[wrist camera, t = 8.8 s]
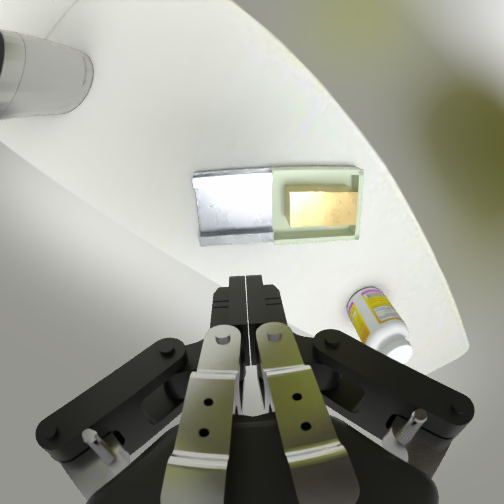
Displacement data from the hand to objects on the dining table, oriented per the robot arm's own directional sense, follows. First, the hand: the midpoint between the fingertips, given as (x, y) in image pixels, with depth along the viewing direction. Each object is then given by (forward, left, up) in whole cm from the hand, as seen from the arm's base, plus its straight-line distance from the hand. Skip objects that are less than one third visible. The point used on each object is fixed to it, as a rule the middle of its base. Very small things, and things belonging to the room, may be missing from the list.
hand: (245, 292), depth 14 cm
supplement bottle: (+19, -19, -23) cm, 35 cm away
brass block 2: (+11, -2, -23) cm, 25 cm away
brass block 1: (+7, -2, -23) cm, 24 cm away
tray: (+9, -2, -23) cm, 25 cm away
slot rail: (-1, -2, -23) cm, 23 cm away
